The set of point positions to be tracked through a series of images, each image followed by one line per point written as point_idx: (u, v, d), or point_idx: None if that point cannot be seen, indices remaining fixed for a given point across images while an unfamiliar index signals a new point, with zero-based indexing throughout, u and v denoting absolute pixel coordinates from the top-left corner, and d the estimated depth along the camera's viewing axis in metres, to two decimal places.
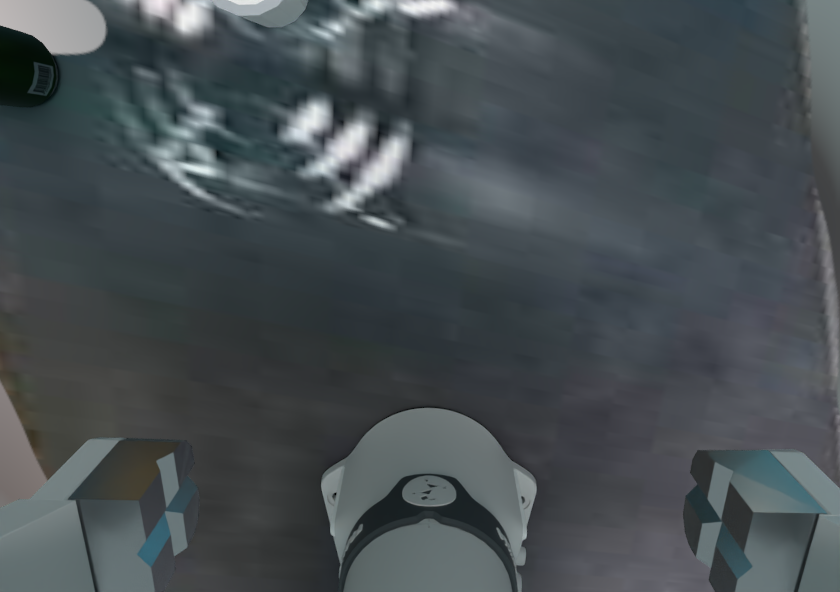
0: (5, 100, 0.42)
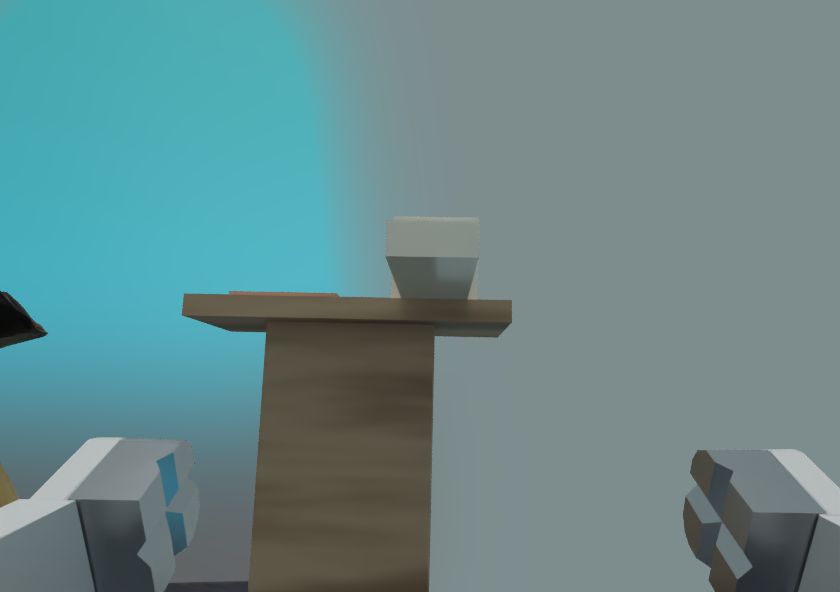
0: None
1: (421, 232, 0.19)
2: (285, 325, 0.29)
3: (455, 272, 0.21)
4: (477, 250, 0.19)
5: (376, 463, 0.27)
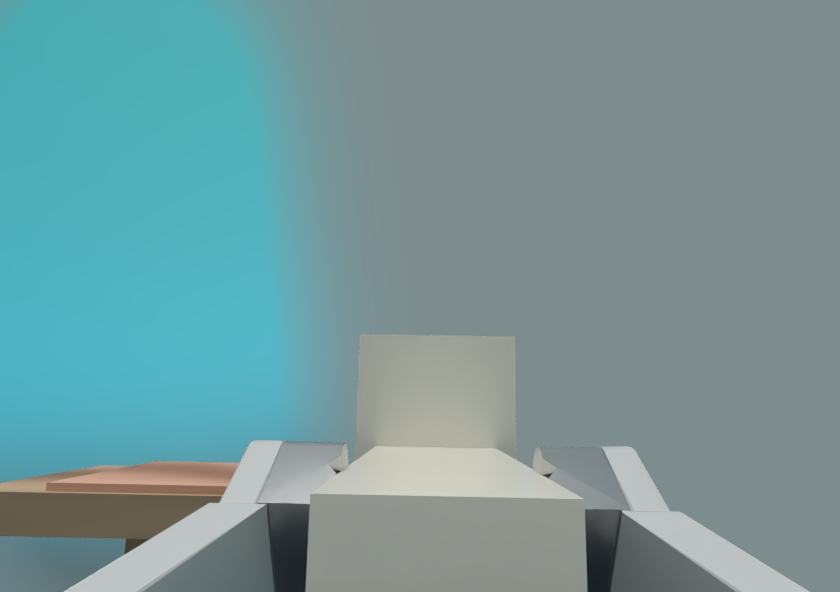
0: None
1: (413, 533, 0.06)
2: None
3: None
4: None
5: None
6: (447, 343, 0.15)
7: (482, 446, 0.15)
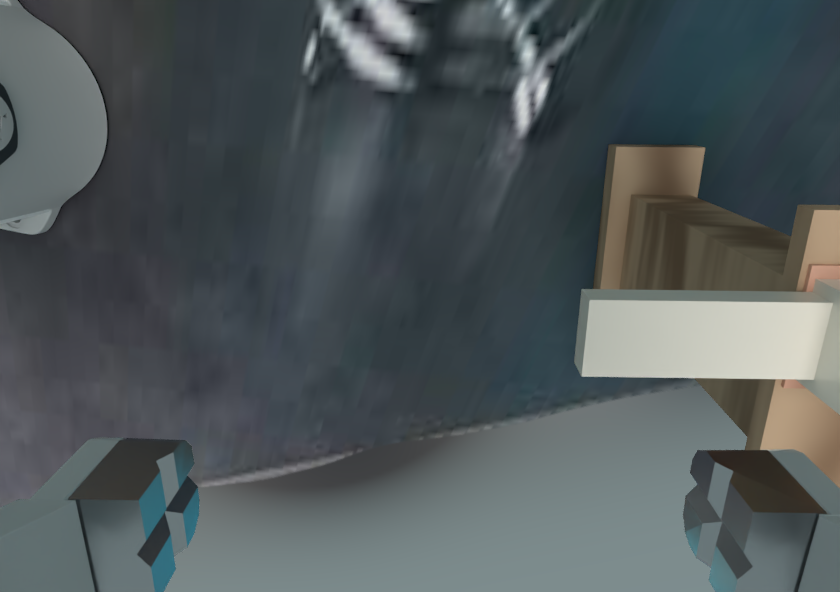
0: None
1: (584, 325, 0.22)
2: None
3: None
4: (576, 364, 0.23)
5: None
6: None
7: (817, 372, 0.22)
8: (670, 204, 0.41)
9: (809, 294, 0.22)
